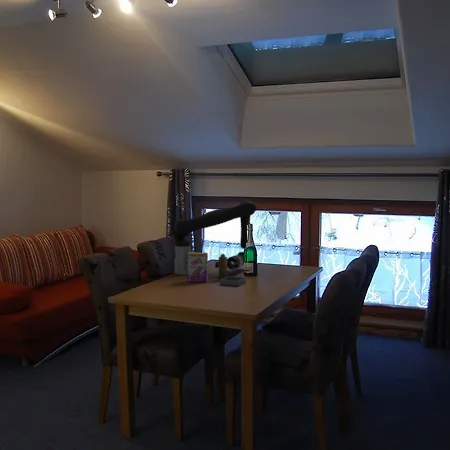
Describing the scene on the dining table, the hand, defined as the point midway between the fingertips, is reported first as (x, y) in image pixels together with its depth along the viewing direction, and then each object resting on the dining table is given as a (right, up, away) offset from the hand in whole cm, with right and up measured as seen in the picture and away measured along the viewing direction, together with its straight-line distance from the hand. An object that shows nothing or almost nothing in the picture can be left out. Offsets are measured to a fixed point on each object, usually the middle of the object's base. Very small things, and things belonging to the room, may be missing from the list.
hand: (222, 266), depth 297 cm
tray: (+6, -9, -10) cm, 15 cm away
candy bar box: (-14, -8, -3) cm, 17 cm away
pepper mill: (0, -7, +1) cm, 8 cm away
